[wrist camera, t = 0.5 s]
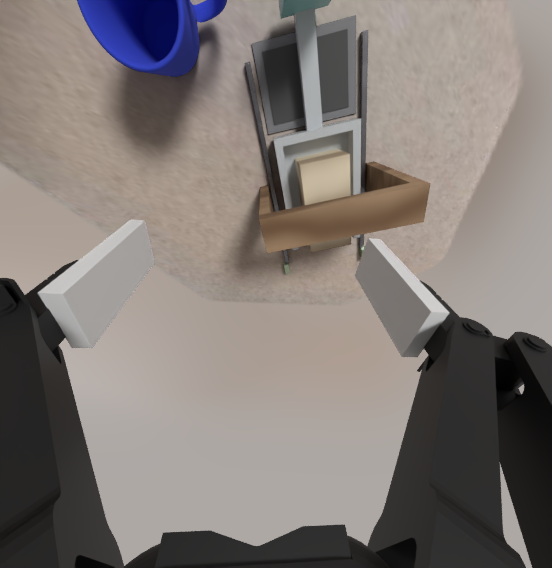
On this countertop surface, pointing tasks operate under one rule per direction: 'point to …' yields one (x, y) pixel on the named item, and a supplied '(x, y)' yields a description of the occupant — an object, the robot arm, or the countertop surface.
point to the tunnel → (347, 211)
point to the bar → (324, 184)
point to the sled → (313, 111)
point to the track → (363, 130)
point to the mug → (150, 31)
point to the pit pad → (287, 83)
